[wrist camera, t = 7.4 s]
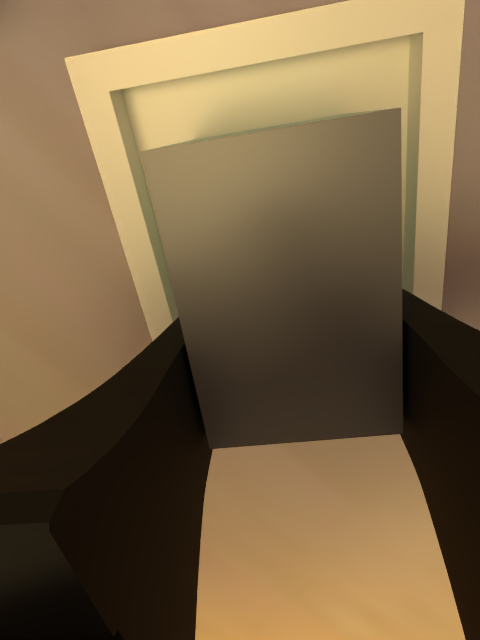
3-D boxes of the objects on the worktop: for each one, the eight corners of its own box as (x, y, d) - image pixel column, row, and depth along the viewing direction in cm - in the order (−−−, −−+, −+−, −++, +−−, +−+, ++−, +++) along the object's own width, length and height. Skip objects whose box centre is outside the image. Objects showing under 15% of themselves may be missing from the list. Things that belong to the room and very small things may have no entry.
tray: (420, 362, 15) (435, 389, 14) (181, 385, 16) (174, 413, 15) (440, -12, 10) (466, -24, 9) (87, 59, 11) (64, 58, 10)
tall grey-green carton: (358, 327, 13) (403, 433, 9) (230, 341, 14) (209, 448, 9) (347, 113, 11) (401, 107, 6) (192, 139, 11) (140, 151, 7)
